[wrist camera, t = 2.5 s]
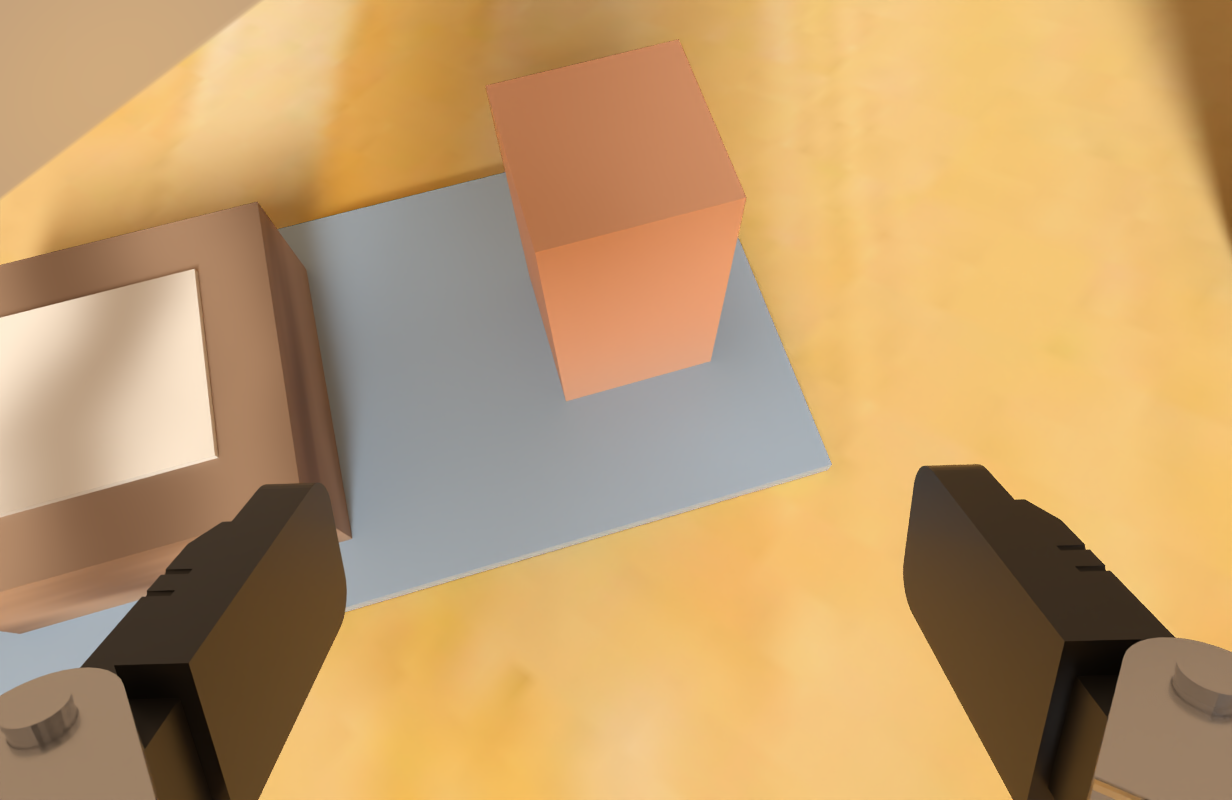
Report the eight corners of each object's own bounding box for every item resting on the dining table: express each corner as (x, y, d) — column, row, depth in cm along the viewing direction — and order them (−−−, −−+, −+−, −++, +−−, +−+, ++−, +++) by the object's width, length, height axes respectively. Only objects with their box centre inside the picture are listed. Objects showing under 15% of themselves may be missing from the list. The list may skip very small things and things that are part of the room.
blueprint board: (690, 136, 31) (691, 125, 30) (827, 469, 26) (832, 464, 25) (-1, 310, 29) (-14, 302, 28) (0, 713, 24) (-15, 713, 23)
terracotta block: (665, 239, 28) (678, 39, 20) (710, 361, 27) (746, 197, 18) (529, 274, 28) (485, 85, 20) (566, 401, 26) (535, 252, 18)
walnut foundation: (306, 269, 28) (254, 197, 24) (352, 538, 25) (299, 504, 21) (16, 343, 27) (-86, 281, 24) (20, 634, 24) (-101, 617, 20)
